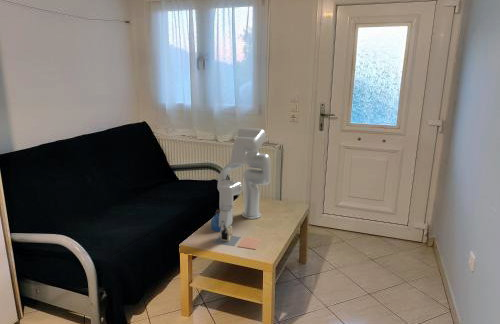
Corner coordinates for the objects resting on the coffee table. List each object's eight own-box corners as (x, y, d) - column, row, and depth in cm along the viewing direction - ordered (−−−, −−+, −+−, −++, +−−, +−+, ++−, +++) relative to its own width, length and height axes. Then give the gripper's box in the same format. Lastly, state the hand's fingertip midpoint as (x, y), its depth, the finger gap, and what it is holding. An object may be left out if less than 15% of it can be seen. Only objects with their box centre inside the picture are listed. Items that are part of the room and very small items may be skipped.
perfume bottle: (211, 229, 213) (211, 210, 210) (219, 226, 217) (219, 207, 215) (217, 232, 209) (217, 213, 206) (226, 229, 213) (226, 210, 210)
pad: (244, 237, 202) (244, 236, 202) (261, 240, 200) (261, 239, 199) (237, 247, 191) (237, 246, 191) (255, 249, 188) (255, 248, 188)
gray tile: (221, 234, 206) (221, 234, 206) (241, 237, 203) (241, 237, 203) (213, 243, 195) (213, 242, 195) (233, 246, 192) (233, 246, 192)
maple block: (223, 236, 203) (223, 225, 202) (232, 237, 202) (232, 226, 200) (220, 240, 199) (220, 228, 197) (228, 241, 197) (229, 229, 196)
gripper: (225, 200, 205) (225, 230, 209) (214, 210, 189) (214, 242, 193) (237, 202, 203) (237, 232, 207) (227, 212, 187) (227, 244, 191)
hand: (226, 236), depth 200 cm, fingers closed on maple block, 4 cm apart
